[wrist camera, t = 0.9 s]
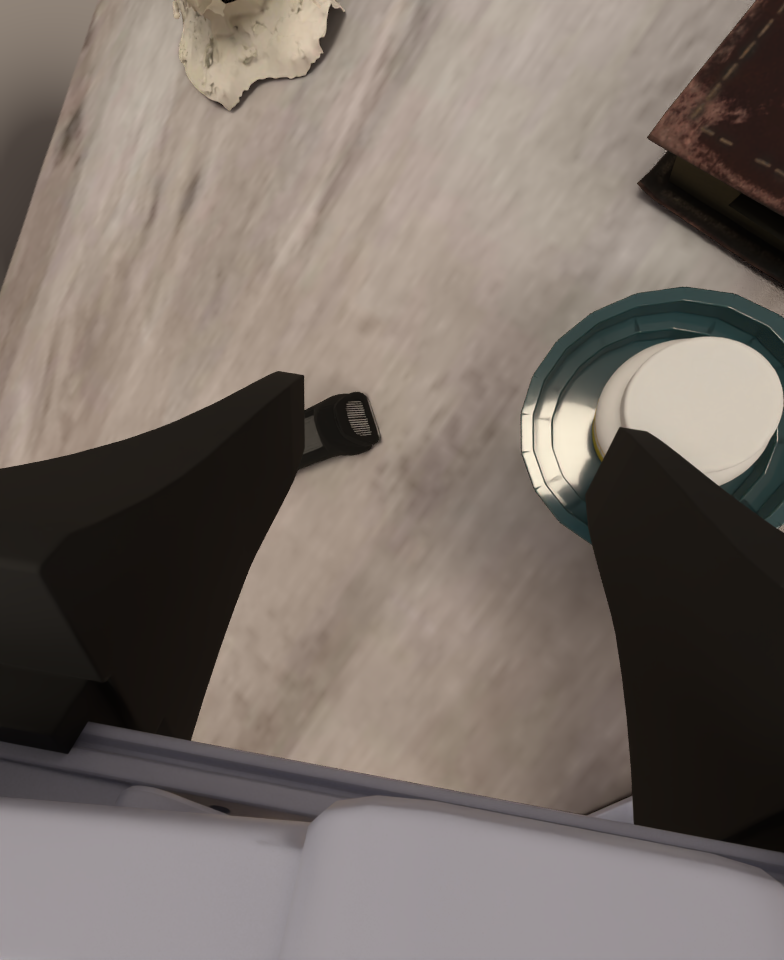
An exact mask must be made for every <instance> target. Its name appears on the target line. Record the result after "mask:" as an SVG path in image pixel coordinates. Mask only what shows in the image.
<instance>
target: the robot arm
mask: <svg viewBox="0 0 784 960" xmlns="http://www.w3.org/2000/svg"><path fill="white" fill-rule="evenodd" d="M304 449H305V419H304V375H299V374H293V373H287V372H281V371H277V372H274V373H272V374H270V375H268V376H266V377H264V378H262V379H260V380H258V381H256V382H254V383H252V384H250V385H249V386H247V387H245V388H243V389H241V390H239V391H237V392H235V393H233V394H232V395H230V396H228V397H226V398H224V399H222V400H220V401H218V402H216V403H214V404H212V405H210V406H208V407H205V408H203V409H201V410H199V411H197V412H195V413H192V414H190V415H188V416H186V417H184V418H182V419H180V420H177V421H175V422H172V423H170V424H167V425H165V426H162V427H160V428H157V429H154V430H152V431H149V432H146V433H143V434H140V435H137V436H135V437H132V438H128V439H125V440H122V441H119V442H115V443H111V444H108V445H104V446H101V447H97V448H93V449H90V450H86V451H82V452H79V453H75V454H71V455H67V456H62V457H58V458H53V459H49V460H44V461H40V462H34V463H29V464H24V465H19V466H13V467H8V468H2V469H0V960H784V533H783V532H782V531H780V530H779V529H777V528H776V527H774V526H773V525H771V524H770V523H768V522H767V521H766V520H764V519H763V518H761V517H760V516H759V515H757V514H756V513H754V512H753V511H752V510H750V509H749V508H747V507H746V506H745V505H743V504H742V503H741V502H739V501H738V500H737V499H735V498H734V497H733V496H731V495H730V494H729V493H727V492H726V491H725V490H724V489H722V488H721V487H720V486H718V485H717V484H716V483H715V482H713V481H712V480H711V479H710V478H708V477H707V476H706V475H704V474H703V473H702V472H701V471H700V470H698V469H697V468H696V467H695V466H693V465H692V464H691V463H690V462H688V461H687V460H686V459H685V458H683V457H682V456H681V455H680V454H678V453H677V452H676V451H674V450H673V449H672V448H671V447H669V446H668V445H667V444H665V443H664V442H663V441H661V440H660V439H658V438H657V437H655V436H654V435H652V434H651V433H649V432H647V431H642V430H636V429H630V428H624V427H619V429H618V431H617V433H616V435H615V437H614V439H613V441H612V443H611V445H610V447H609V449H608V451H607V453H606V455H605V457H604V459H603V460H602V462H601V464H600V466H599V468H598V470H597V472H596V474H595V476H594V478H593V480H592V482H591V484H590V486H589V488H588V490H587V492H586V494H585V499H586V511H587V521H588V529H589V534H590V538H591V542H592V546H593V550H594V554H595V558H596V561H597V565H598V569H599V572H600V576H601V580H602V583H603V587H604V590H605V594H606V598H607V601H608V605H609V609H610V612H611V616H612V621H613V625H614V630H615V634H616V640H617V647H618V654H619V660H620V667H621V674H622V682H623V690H624V699H625V707H626V716H627V727H628V739H629V751H630V763H631V779H632V796H630V797H628V798H626V799H624V800H621V801H619V802H617V803H614V804H612V805H610V806H608V807H605V808H603V809H601V810H598V811H596V812H594V813H591V814H589V815H587V816H586V815H581V814H575V813H570V812H565V811H559V810H554V809H549V808H543V807H538V806H533V805H528V804H522V803H517V802H512V801H506V800H501V799H496V798H491V797H485V796H480V795H475V794H469V793H464V792H459V791H454V790H448V789H443V788H438V787H432V786H427V785H422V784H416V783H411V782H406V781H401V780H395V779H390V778H385V777H379V776H374V775H369V774H364V773H358V772H353V771H348V770H342V769H337V768H332V767H326V766H321V765H316V764H311V763H305V762H300V761H295V760H289V759H284V758H279V757H274V756H268V755H263V754H258V753H252V752H247V751H242V750H237V749H231V748H226V747H221V746H215V745H210V744H205V743H199V742H194V741H191V738H192V735H193V732H194V728H195V725H196V722H197V719H198V715H199V712H200V709H201V706H202V702H203V699H204V696H205V693H206V690H207V687H208V684H209V681H210V678H211V675H212V672H213V669H214V666H215V663H216V660H217V657H218V654H219V651H220V648H221V645H222V642H223V639H224V636H225V633H226V631H227V628H228V625H229V622H230V619H231V617H232V614H233V611H234V608H235V605H236V603H237V600H238V598H239V595H240V592H241V590H242V587H243V584H244V582H245V579H246V576H247V574H248V571H249V569H250V567H251V564H252V562H253V560H254V558H255V556H256V553H257V551H258V550H259V548H260V546H261V544H262V542H263V540H264V538H265V536H266V534H267V532H268V530H269V528H270V526H271V524H272V523H273V521H274V519H275V517H276V515H277V513H278V511H279V509H280V507H281V505H282V503H283V501H284V499H285V497H286V495H287V493H288V491H289V489H290V487H291V485H292V483H293V481H294V478H295V476H296V473H297V470H298V467H299V464H300V461H301V458H302V455H303V452H304Z"/></svg>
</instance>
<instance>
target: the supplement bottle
mask: <svg viewBox="0 0 784 960" xmlns="http://www.w3.org/2000/svg"><path fill="white" fill-rule="evenodd" d="M783 402H784V399H783V390H782V386H781V383H780V380H779V377H778V375H777V373H776V371H775V369H774V368H773V367H772V365H771V364H770V363H769V362H768V360H767V359H766V358H765V357H763V356H762V355H761V354H760V353H759V352H757V351H756V350H754V349H753V348H751V347H749V346H747V345H745V344H743V343H741V342H738V341H735V340H731V339H727V338H722V337H696V338H691V339H677V340H671V341H667V342H663V343H659V344H656V345H654V346H651V347H649V348H647V349H644V350H642V351H641V352H639V353H637V354H636V355H634V356H633V357H631V358H630V359H628V360H627V361H626V362H625V363H623V364H622V365H621V366H620V367H619V368H618V369H617V370H616V371H615V372H614V374H613V375H612V376H611V378H610V379H609V380H608V382H607V383H606V385H605V387H604V388H603V391H602V393H601V395H600V398H599V400H598V404H597V408H596V412H595V416H594V420H593V425H592V439H593V445H594V449H595V452H596V454H597V456H598V458H599V460H600V461H601V462H602V460H603V459H604V457H605V455H606V453H607V451H608V449H609V447H610V445H611V443H612V441H613V439H614V437H615V435H616V433H617V431H618V429H619V427H624V428H630V429H636V430H642V431H647V432H649V433H651V434H652V435H654V436H655V437H657V438H658V439H660V440H661V441H663V442H664V443H665V444H667V445H668V446H669V447H671V448H672V449H673V450H674V451H676V452H677V453H678V454H680V455H681V456H682V457H683V458H685V459H686V460H687V461H688V462H690V463H691V464H692V465H693V466H695V467H696V468H697V469H698V470H700V471H701V472H702V473H703V474H704V475H706V476H707V477H708V478H710V479H711V480H712V481H713V482H715V483H716V484H717V485H718V486H720V485H723V484H725V483H727V482H729V481H731V480H733V479H734V478H736V477H737V476H739V475H741V474H742V473H743V472H745V471H746V470H747V469H748V468H749V467H750V466H751V465H752V464H753V463H754V462H755V461H756V460H757V459H758V458H759V457H760V455H761V454H762V453H763V451H764V450H765V448H766V446H767V445H768V443H769V440H770V438H771V437H772V435H773V434H774V432H775V430H776V429H777V427H778V424H779V422H780V419H781V415H782V411H783Z"/></svg>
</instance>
